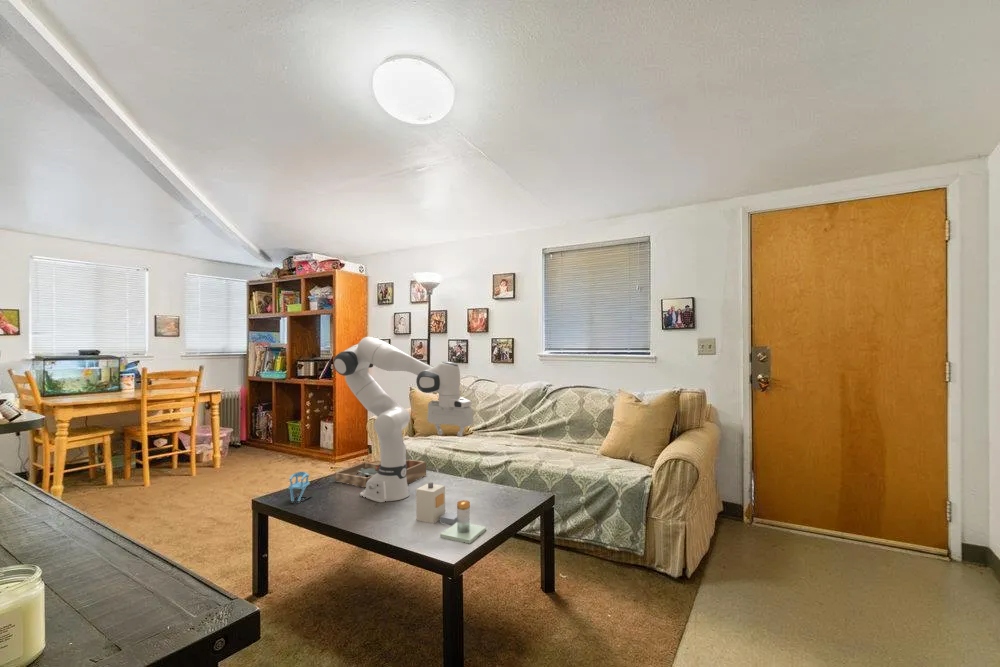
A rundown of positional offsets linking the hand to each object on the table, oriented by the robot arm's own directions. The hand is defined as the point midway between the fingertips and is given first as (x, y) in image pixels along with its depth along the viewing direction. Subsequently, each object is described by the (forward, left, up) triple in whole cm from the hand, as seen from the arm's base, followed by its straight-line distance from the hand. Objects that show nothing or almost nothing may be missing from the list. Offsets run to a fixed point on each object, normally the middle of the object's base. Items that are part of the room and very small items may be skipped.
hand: (449, 435), depth 183 cm
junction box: (-4, -8, -31) cm, 32 cm away
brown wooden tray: (-63, +20, -31) cm, 73 cm away
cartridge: (+15, -15, -30) cm, 37 cm away
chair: (-68, -16, -31) cm, 77 cm away
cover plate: (+4, -7, -32) cm, 33 cm away
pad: (+15, -15, -31) cm, 38 cm away
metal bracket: (-62, +24, -32) cm, 73 cm away
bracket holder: (-44, +28, -31) cm, 61 cm away
